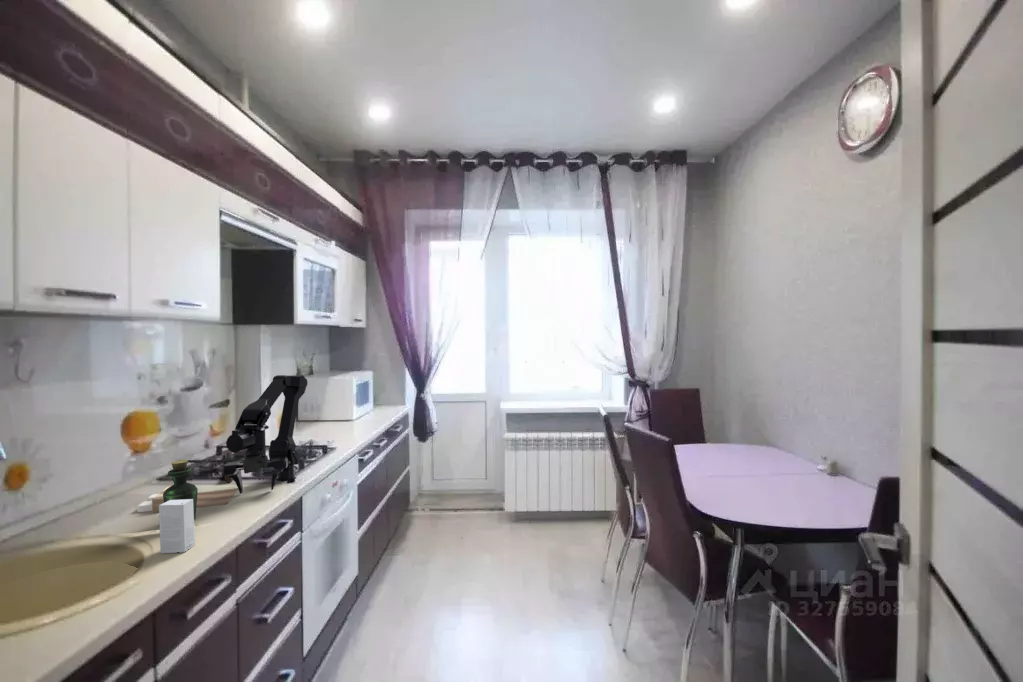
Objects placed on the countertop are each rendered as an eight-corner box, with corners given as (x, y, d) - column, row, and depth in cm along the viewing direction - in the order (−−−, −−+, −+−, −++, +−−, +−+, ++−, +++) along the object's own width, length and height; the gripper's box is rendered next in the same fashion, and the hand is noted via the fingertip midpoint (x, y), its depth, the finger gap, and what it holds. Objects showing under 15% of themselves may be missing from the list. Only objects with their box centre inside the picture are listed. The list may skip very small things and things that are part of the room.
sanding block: (169, 500, 154) (168, 485, 154) (183, 499, 156) (183, 484, 156) (152, 516, 141) (152, 499, 141) (168, 514, 142) (167, 497, 142)
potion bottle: (169, 533, 128) (167, 467, 127) (159, 526, 133) (157, 462, 132) (203, 523, 134) (201, 460, 134) (192, 517, 139) (190, 456, 139)
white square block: (143, 511, 145) (143, 501, 145) (159, 509, 146) (158, 500, 146) (137, 516, 141) (137, 506, 141) (153, 514, 142) (153, 504, 142)
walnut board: (191, 496, 157) (191, 493, 157) (238, 491, 162) (238, 488, 162) (174, 513, 142) (174, 510, 142) (227, 507, 147) (227, 503, 147)
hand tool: (223, 474, 183) (223, 462, 183) (235, 472, 185) (234, 461, 185) (220, 488, 166) (219, 475, 166) (233, 486, 168) (232, 473, 168)
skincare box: (195, 545, 120) (194, 498, 120) (184, 553, 116) (183, 504, 116) (171, 546, 120) (169, 499, 120) (159, 553, 115) (157, 505, 115)
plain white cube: (152, 503, 152) (152, 494, 152) (167, 501, 153) (167, 492, 153) (148, 507, 148) (147, 498, 148) (163, 505, 149) (163, 496, 149)
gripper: (217, 453, 146) (218, 503, 146) (283, 447, 152) (284, 495, 152) (226, 445, 156) (227, 492, 156) (287, 440, 162) (288, 485, 162)
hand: (257, 491), depth 157 cm, fingers open, 9 cm apart
